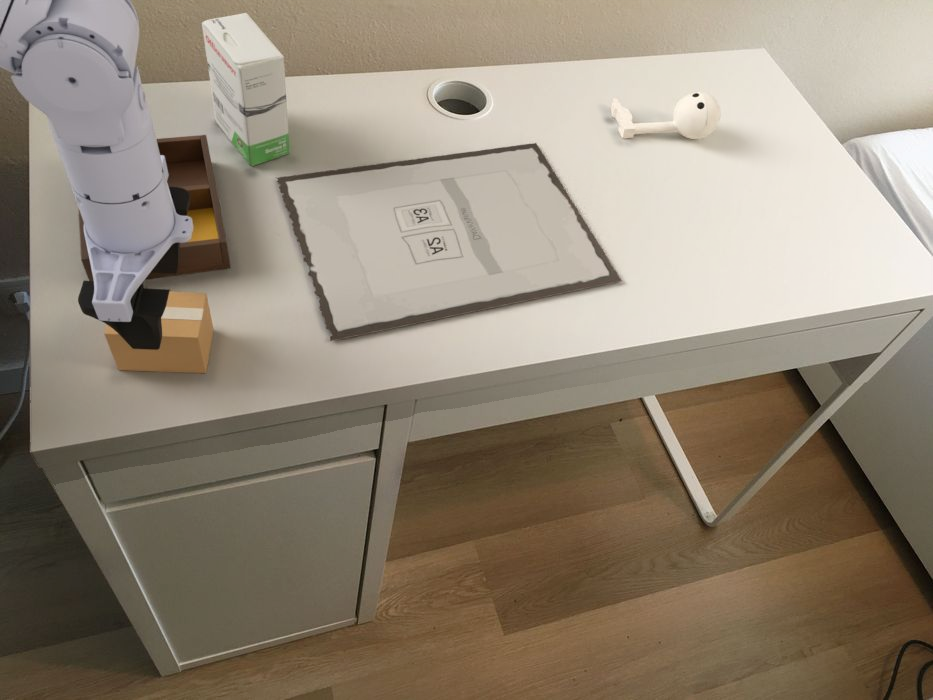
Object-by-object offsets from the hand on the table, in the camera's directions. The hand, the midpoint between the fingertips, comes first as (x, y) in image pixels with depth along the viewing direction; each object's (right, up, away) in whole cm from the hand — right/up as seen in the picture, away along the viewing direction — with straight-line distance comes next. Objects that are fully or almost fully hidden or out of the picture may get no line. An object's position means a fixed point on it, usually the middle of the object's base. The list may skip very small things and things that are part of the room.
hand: (155, 306), depth 60 cm
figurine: (+49, +24, +34) cm, 64 cm away
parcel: (-1, -3, +5) cm, 6 cm away
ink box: (+2, +19, +22) cm, 29 cm away
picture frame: (+23, +9, +18) cm, 30 cm away
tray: (-5, +9, +13) cm, 17 cm away
